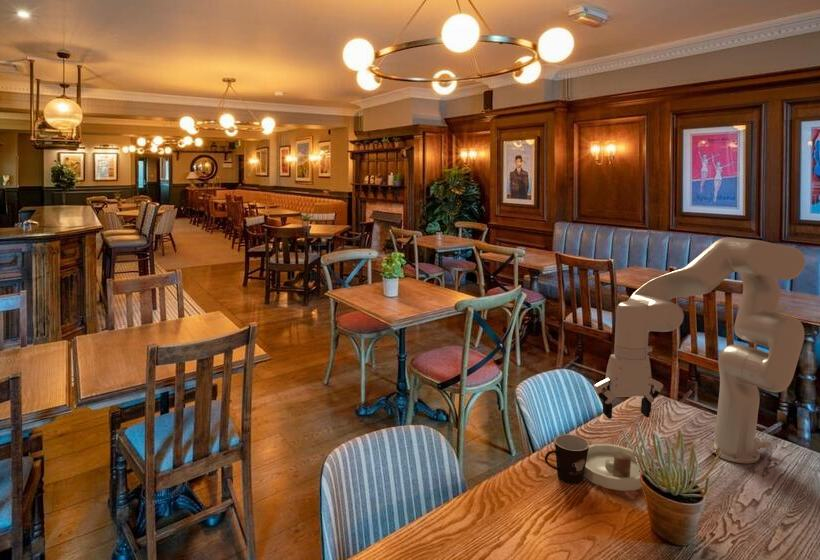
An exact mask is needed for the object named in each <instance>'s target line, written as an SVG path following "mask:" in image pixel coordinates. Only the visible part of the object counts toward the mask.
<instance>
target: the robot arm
mask: <svg viewBox="0 0 820 560" xmlns="http://www.w3.org/2000/svg"><path fill="white" fill-rule="evenodd" d="M805 266H806V258H805V255H804V253H803V252H802V250H800V249H799V248H797V247H794V246H789V245H784V244H779V243H774V242H769V241H764V240H759V239H750V238H738V237H730V236H729V237H728V236H727V237H723V238H720V239H719V238H718V239H717V240H715V241H714V242H713V243H712V244H710V245H708V247H707V248H706V249H704V250H703V251H702V252H701V253H700V254H699V255H697V257H695V258H694V259H693V260H692V261H690V262H689V263H688V264H687V265H685V266H684V267H682V268H680V269H676V270H673V271H671V272H668V273H665V274H663V275H660V276H658V277H654V278H653V279H651V280H649V281H647V282H646V283H644V284H643V285H642V286H640V287H639V288H638V289H637V290H635V291H634V292H633V293H632V294H631V295H630V296H629V298H628V299H627V300H626V301H621V302H619V303H618V304H617V306H616V311H615V328H614V329H615V332H614V349H613V354H612V353H611V354H610V355H609V359H608V363H607V366H606V372H605V379H603V380H600V381H599V382H597V383H596V384H593V389H594V391H595V393H596V395H597V397H599V398H600V399H601V400H602V402H603V403H602V413H603V414H604V416H605V417H606V418H607V419H608V420H611V419H612V418H613V404H612V401H613V400H614V399H615V398H625V397H630V398H631V397H642V398H641V402H640V403H641V404H640V413H641V414H642V415H643V416H645V417H646V418H650V416H651V415H650V414H651V412H652V403H654V401H655V399H656V398H657V397H658V396H659V395H660V392H661V391H662V389H663V387H664V384H663V383H662V382H660V381H658V380H657V379H654V378H652V366H651V361H650V357H649V356H648V353H649V352H652V351H653V347H652V346H651V345H649V333H650V332H661V333H665V332H672V331H675V330H676V329H678V328H679V327H680V326H681V325H682V323H683V321H684V317H685V315H684V314H685V313H684V311H683V309H682V308H681V307H680V306H679V305H678V304H676V303H674V302H673V301H669V300H673V299H677V298H685V297H693V296H694V297H695V296H701V295H707V294H708V293H711V292H712V291H713V290H714V289H716V287H718V286H719V285H720V284H721V283H722V282H724V281H725V280H726V279H727V278H728V277H730V276H731V275H732V274H733V273H738V275H739V277H740V280H741V281H742V287H743V288H742V294H741V298H740V299H741V300H740V302H739V306H738V310H737V314H736V318H735V321H734V327H733V331H734V335H736V336H737V337H738V338H739V339H741V340H743V341H746V342H749V343H752V344H756V345H759V346H762V347H766V348H767V349H768V352H767V351H764V350H761V349H758V348H754V347H751V346H747V345H743V344H737V343H735V344H733V343H732V344H729V345H727V346H725V347H724V348H722V349H721V351H720V352H719V356H718V361H717V362H718V372H719V394H718V402H717V411H716V413H717V414H716V422H715V431H714V438H712V439H710V440H709V441H708V442H707V449H708V450H709V451H710V452H711V454H713V453H715V452H716V450H717V449H718V448H720V449H721V456H720V457H719V458H720V459H723V460H726V461H728V462H732V463H738V464H747V465H749V464H753V463H757V462H758V461H759V460H760V457H761V456H760V455H761V454H760V452H759V450H760V449H768V448H769V449H770V448H771V446H772V444H771V442H770V441H769V440H760V438H759V437H756V434H757V433H756V432H757V424H758V415H759V407H760V397H761V396H760V393H759V392H760V391H759V388H760V389H762V390H765V391H767V392H771V393H781V392H784V391H785V390H787V389H788V388H789V386H790V385H791V383H792V381H793V378H794V376H795V372H796V368H797V365H798V362H799V358H800V355H801V351H802V348H803V344H804V341H805V328H804V325H803V324H802V322H801V321H800V320H799V319H798V318H797V317H794V316H792V315H788V314H785V313H780V312H778V310H779V309H778V308H779V305H780V304H779V303H780V301H781V286H780V285H779V282H778V280H783V281H789V280H793V279H795V278H797V277H799V275H801V274H802V272H803V271H804V270H805ZM652 386H653V388H652ZM604 388H605V390H606V391H605V392H604V393H603V391H602V390H603V389H604Z"/></svg>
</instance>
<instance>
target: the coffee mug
mask: <svg viewBox="0 0 820 560" xmlns="http://www.w3.org/2000/svg"><path fill="white" fill-rule="evenodd" d="M589 445H590V442H589V441H588V440H587V439H586V438H584V437H582V436H579V435H577V434H570V433H568V434H559V435H557V436H556V437H555V438H554V448H555V450H554V449H553V450H550V451H548V452H547V453H546V454H545V456H544V463H545V464H546V465H548V466H549V468H552V469H554V470H556V472H557V474H556V475H557V479H559V480H560V481H561V482H563V483H565V484H569V485H579V484H580V483H582V482H583V480H584V470H585V465H586V460H587V454H588V449H589ZM551 454H555V460H556V461H555V463H556V466H554V465H552V464H550V463H549V461H548V457H549V456H550V455H551Z"/></svg>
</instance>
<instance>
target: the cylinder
mask: <svg viewBox="0 0 820 560" xmlns="http://www.w3.org/2000/svg"><path fill="white" fill-rule="evenodd" d="M630 468H631V457H630V456H628V455H626V454H622V453H618V454H615V455H614V469H613V476H614V477H620V478H627V477H630Z"/></svg>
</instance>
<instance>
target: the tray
mask: <svg viewBox="0 0 820 560" xmlns="http://www.w3.org/2000/svg"><path fill="white" fill-rule="evenodd" d="M618 453H622V454H626V455H628V456H630V457H631V468H630V477H627V478H620V477H614V476H613V469H614V455H615V454H618ZM583 478H585V479H587V480H588V481H589V482H590V483H592V484H594V485H597V486H600V487H602V488H605V489H611V490H616V491H619V492H620V491H621V492H623V491H624V492H625V491H626V492H627V491H637V490H640V489H642V488H641V483H640V472H639V467H638V465H637V462H636V458H635V457H634V455H633V449H631V448H627V447H625V446H623V445H619V444H618V445H617V444H611V443H592V444H589V449H588V454H587V460H586V465H585V470H584V476H583Z"/></svg>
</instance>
